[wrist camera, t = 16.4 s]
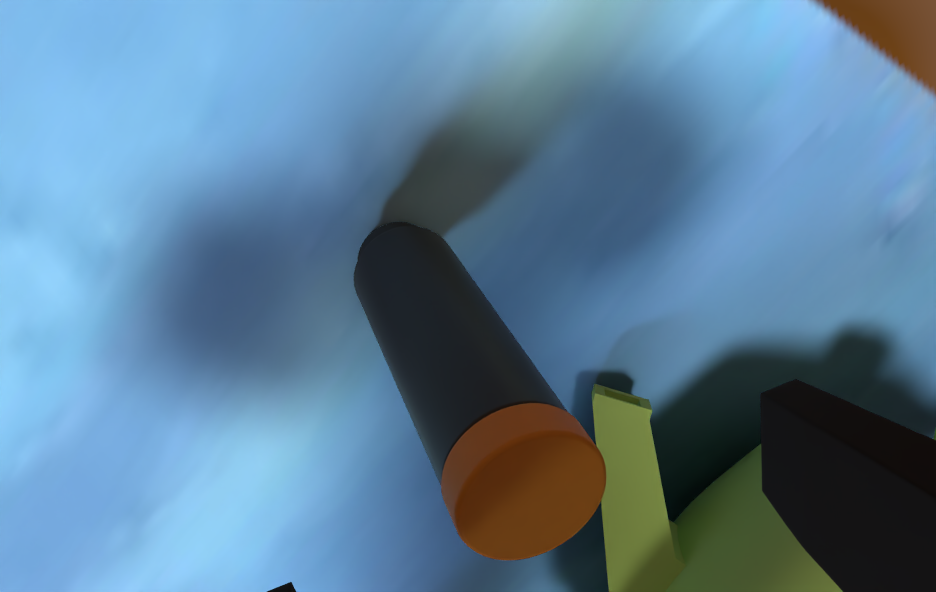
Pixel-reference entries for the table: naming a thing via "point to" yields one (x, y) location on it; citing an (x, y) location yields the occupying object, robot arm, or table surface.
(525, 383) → the marker
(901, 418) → the table surface
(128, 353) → the table surface
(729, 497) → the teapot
